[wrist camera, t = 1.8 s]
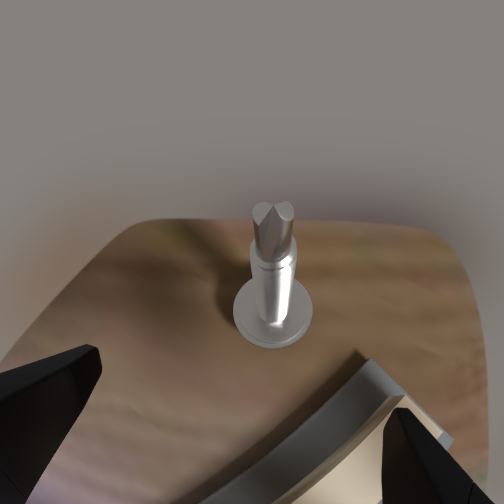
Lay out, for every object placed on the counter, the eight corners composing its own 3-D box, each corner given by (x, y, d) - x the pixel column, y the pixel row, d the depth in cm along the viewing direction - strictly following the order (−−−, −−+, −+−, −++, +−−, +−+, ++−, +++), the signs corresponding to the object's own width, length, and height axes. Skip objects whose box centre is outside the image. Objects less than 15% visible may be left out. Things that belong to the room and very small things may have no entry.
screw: (323, 316, 21) (273, 368, 20) (271, 271, 23) (221, 318, 22) (381, 204, 10) (276, 316, 8) (270, 129, 11) (163, 209, 10)
